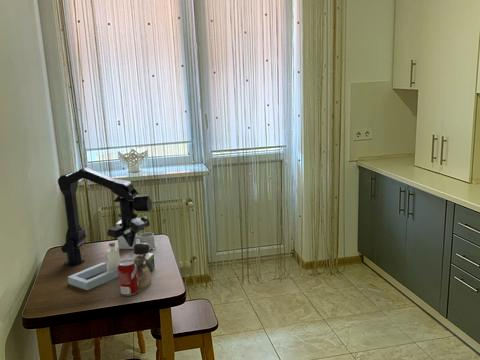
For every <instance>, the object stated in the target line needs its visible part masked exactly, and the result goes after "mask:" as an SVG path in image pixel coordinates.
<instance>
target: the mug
mask: <svg viewBox="0 0 480 360" xmlns="http://www.w3.org/2000/svg"><path fill="white" fill-rule="evenodd" d="M136 239H139V243H146V244H148V245H149V250H150V251H152V250H151V249H153V248H156V242H155V233H153V232H143V233H140V234H139V235H137V236H136V237H135V239H134V245H136ZM153 250H154V249H153Z"/></svg>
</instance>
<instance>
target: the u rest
mask: <svg viewBox="0 0 480 360" xmlns="http://www.w3.org/2000/svg"><path fill="white" fill-rule="evenodd" d="M107 266H108V265H107V263H106V262H104V261H103V262H101V263H97V264H96V265H93V266H91V267H88V268H86V269H85V268H84V270H80V271H79V272H75V273H74V274H70V275H69V276H67V281H68V282H67V283H68V284H69V285H70V286H74V287H76V288H78V289H82V290H86V291H90V290H92V289H95V288H96V287H98V286H101V285H103V284H105V283H107V282H110V281H112V280H114V279H116V278H118V269H117V268H118V267H117V268H115V269H112V270H110V271H109V270H108V267H107ZM105 271H106V272H105ZM102 272H104V273H102ZM91 277H92V278H91Z"/></svg>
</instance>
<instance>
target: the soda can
mask: <svg viewBox="0 0 480 360" xmlns="http://www.w3.org/2000/svg"><path fill="white" fill-rule="evenodd" d="M117 269H118V277H117V278H118V285H119V292H120V294H121V295H123V296H126V297H129V296H134V295H135V294H137V293H138V292H139V291H140V288H139V286H138V277H137V268H136V264H135V263H134V261H133V260H131V259H124V260H120V262H119V266H118V268H117Z"/></svg>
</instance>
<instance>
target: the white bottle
mask: <svg viewBox="0 0 480 360" xmlns="http://www.w3.org/2000/svg"><path fill="white" fill-rule="evenodd" d="M108 246H109V249H107V250H106V257H107V263H108V265H107V266H108V271H110V270H112V269H115V268H117V267H118V266H119V262H121V259H120V258H121V257H120V249H119V248H118V247H117V248H116V242H110V243H108Z"/></svg>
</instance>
